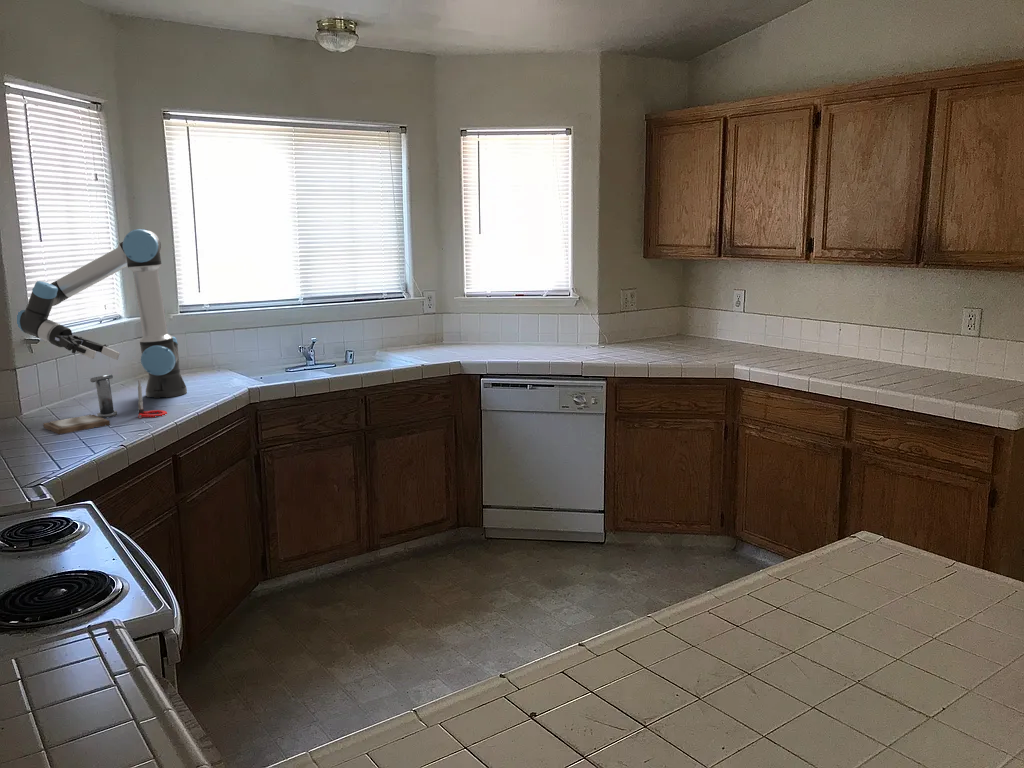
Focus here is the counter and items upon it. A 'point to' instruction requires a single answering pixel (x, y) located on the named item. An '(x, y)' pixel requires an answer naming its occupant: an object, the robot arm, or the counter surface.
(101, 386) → the metal mooring bollard
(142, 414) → the tow hook
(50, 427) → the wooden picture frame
